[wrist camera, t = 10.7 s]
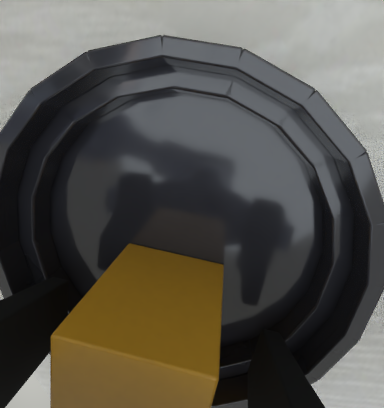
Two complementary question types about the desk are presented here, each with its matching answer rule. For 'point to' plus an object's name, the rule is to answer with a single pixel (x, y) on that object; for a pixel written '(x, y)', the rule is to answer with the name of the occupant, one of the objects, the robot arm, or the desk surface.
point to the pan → (198, 193)
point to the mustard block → (142, 335)
